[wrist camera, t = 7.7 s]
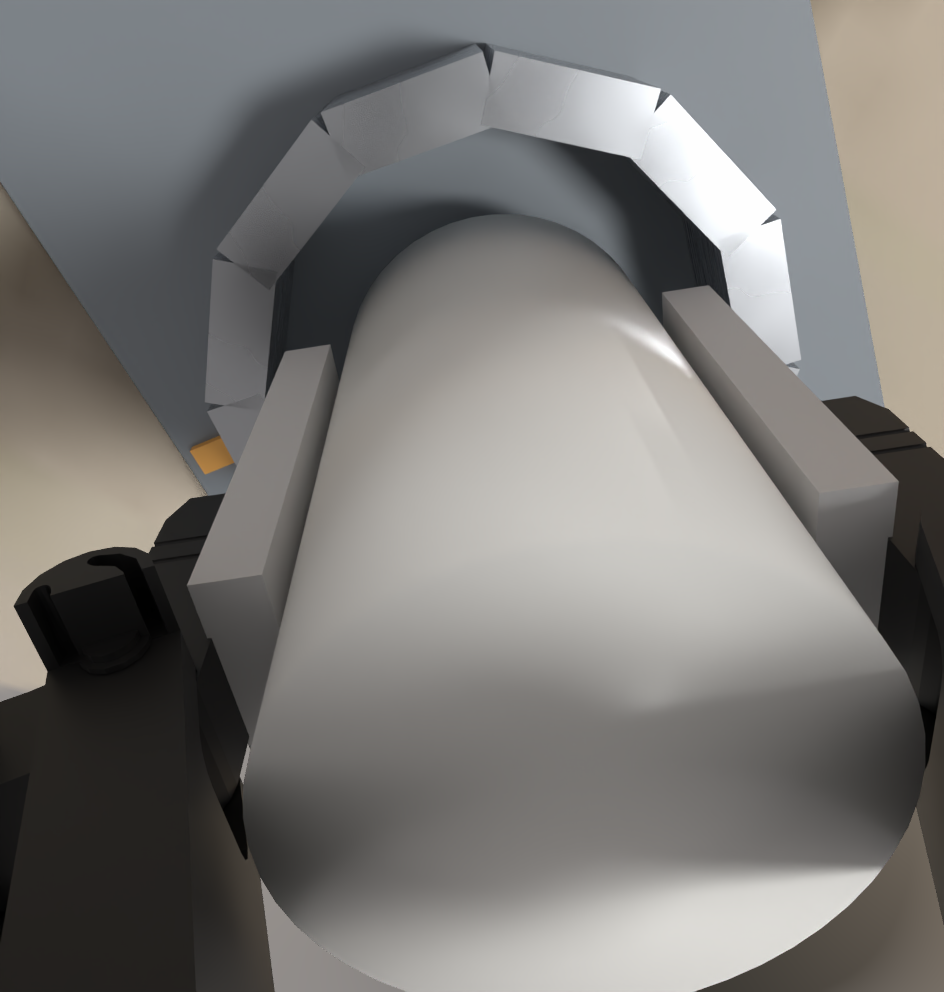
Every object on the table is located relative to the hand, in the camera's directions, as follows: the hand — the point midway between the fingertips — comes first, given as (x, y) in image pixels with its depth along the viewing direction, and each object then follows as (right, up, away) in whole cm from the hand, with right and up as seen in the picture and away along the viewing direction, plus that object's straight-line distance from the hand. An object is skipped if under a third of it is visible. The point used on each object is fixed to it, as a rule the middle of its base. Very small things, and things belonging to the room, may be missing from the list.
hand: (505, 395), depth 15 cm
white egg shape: (0, +1, +1) cm, 1 cm away
